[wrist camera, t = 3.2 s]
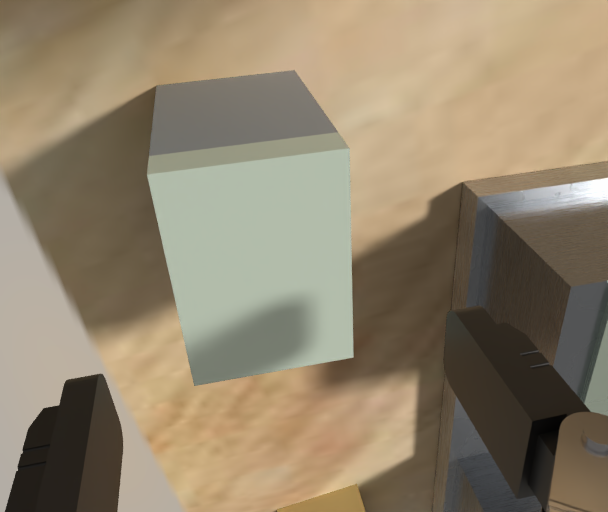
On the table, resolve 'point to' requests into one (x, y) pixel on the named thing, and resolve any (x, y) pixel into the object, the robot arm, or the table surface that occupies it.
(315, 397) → the table surface
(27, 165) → the table surface
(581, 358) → the rail
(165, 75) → the table surface
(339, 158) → the block
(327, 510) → the relay
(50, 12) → the table surface
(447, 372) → the robot arm
